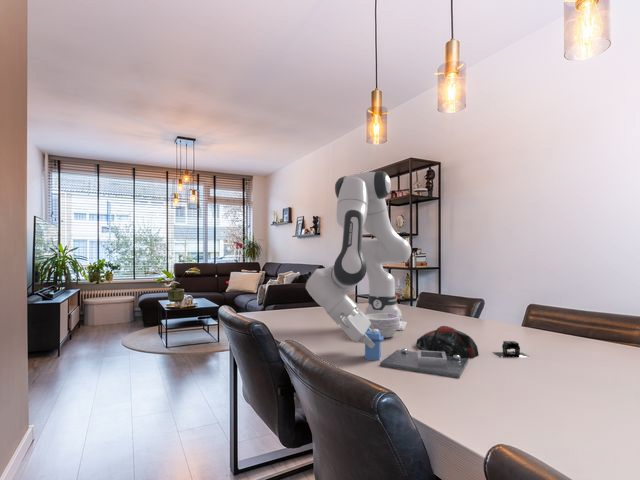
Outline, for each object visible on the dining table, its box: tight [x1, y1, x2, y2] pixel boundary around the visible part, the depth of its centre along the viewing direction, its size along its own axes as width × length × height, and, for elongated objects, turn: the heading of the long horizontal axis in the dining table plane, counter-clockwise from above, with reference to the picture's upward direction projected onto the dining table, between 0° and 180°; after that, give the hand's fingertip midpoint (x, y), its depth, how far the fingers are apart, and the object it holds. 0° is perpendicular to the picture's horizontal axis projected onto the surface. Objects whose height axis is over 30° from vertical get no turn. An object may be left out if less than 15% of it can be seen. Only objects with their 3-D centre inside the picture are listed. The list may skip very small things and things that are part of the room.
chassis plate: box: [379, 347, 470, 378], centre depth 111 cm, size 16×22×3 cm
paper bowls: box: [366, 313, 400, 339], centre depth 149 cm, size 15×15×8 cm
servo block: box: [364, 329, 385, 361], centre depth 118 cm, size 4×6×9 cm
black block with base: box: [491, 340, 530, 358], centre depth 120 cm, size 12×7×5 cm, turn 87°
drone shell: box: [416, 325, 479, 359], centre depth 128 cm, size 21×20×8 cm
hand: (374, 343), depth 118 cm, fingers open, 6 cm apart
